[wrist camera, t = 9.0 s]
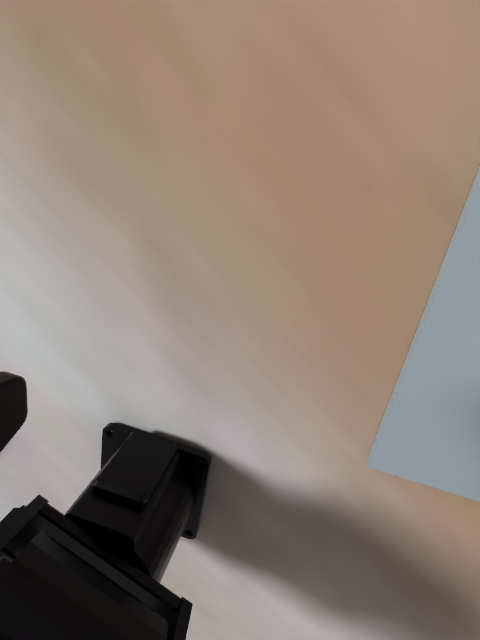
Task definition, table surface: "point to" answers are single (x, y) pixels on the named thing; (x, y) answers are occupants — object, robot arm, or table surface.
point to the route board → (441, 377)
